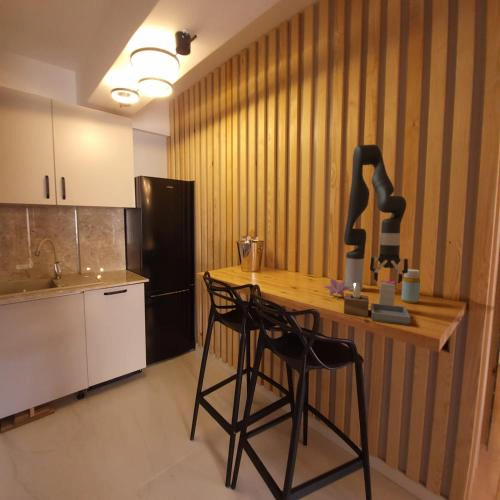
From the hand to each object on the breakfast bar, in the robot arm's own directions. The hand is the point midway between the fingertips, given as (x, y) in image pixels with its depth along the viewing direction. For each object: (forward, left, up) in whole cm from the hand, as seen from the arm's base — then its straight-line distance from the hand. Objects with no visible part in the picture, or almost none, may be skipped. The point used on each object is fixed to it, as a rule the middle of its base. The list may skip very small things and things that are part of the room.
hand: (387, 281), depth 117 cm
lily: (-9, -21, -12) cm, 26 cm away
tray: (+12, 0, -12) cm, 16 cm away
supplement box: (0, 0, -12) cm, 12 cm away
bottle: (-15, +11, -12) cm, 22 cm away
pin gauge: (+10, -12, -12) cm, 19 cm away
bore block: (+10, -12, -12) cm, 19 cm away
